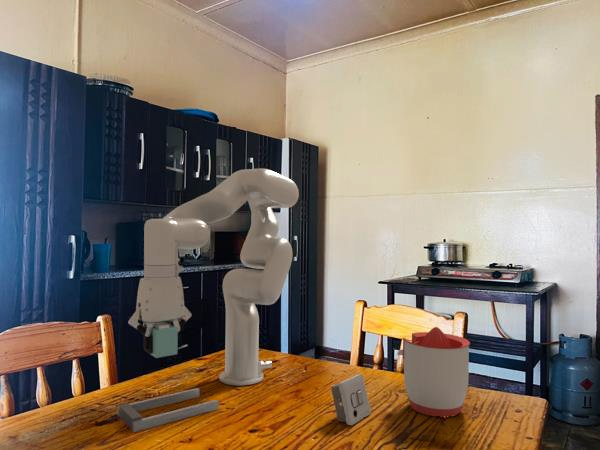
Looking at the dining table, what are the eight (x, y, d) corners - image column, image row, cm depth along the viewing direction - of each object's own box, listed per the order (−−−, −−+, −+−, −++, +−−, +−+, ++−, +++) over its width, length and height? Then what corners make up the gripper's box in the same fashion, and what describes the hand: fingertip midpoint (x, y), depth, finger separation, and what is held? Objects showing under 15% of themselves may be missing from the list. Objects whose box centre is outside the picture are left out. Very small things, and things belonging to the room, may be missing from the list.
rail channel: (197, 395, 116) (197, 385, 116) (218, 409, 108) (218, 398, 108) (117, 415, 103) (117, 404, 103) (133, 432, 95) (134, 420, 95)
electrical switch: (350, 427, 99) (347, 384, 99) (331, 423, 102) (328, 381, 103) (371, 414, 106) (369, 374, 107) (353, 411, 109) (350, 372, 110)
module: (165, 347, 109) (165, 320, 109) (177, 354, 103) (177, 325, 103) (145, 350, 106) (145, 322, 106) (156, 358, 100) (156, 328, 100)
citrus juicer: (409, 391, 122) (410, 317, 122) (476, 406, 112) (477, 325, 112) (385, 409, 109) (386, 326, 109) (458, 428, 99) (459, 337, 99)
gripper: (188, 268, 113) (188, 340, 113) (118, 273, 102) (118, 353, 102) (202, 271, 107) (201, 347, 107) (129, 276, 96) (128, 361, 96)
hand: (161, 349), depth 105 cm, fingers closed on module, 5 cm apart
